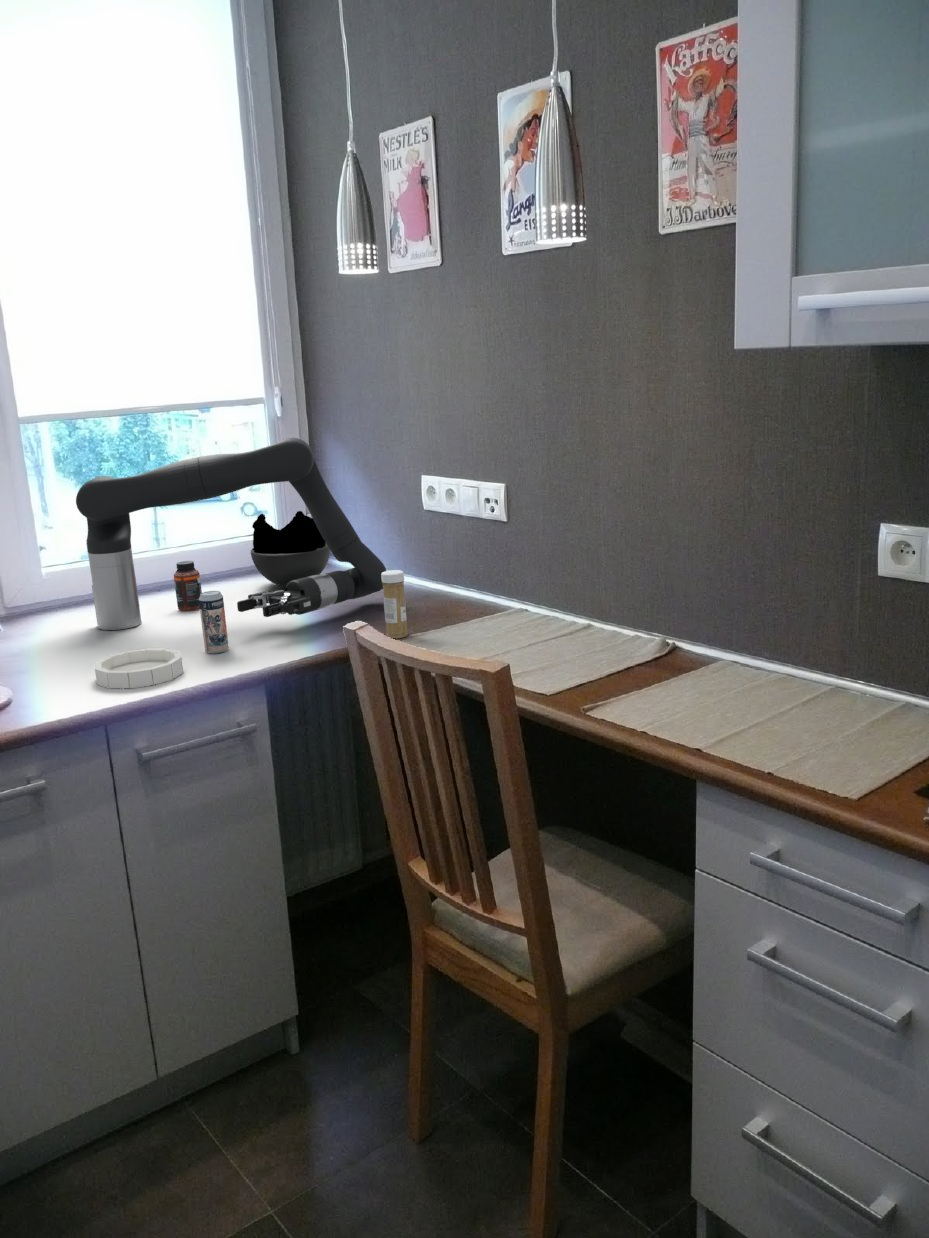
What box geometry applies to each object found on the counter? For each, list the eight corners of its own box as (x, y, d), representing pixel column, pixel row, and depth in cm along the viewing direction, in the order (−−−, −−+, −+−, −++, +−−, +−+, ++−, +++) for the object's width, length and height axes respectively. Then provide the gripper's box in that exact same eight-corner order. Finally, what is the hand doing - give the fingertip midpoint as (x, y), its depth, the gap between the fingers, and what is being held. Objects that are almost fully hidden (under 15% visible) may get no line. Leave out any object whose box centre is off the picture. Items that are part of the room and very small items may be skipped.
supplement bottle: (209, 607, 246) (203, 560, 243) (190, 613, 241) (184, 565, 238) (191, 605, 249) (185, 559, 246) (172, 610, 244) (166, 563, 241)
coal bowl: (349, 580, 267) (343, 507, 262) (300, 597, 250) (292, 520, 246) (288, 575, 277) (282, 505, 272) (237, 592, 260) (229, 517, 256)
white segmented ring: (81, 679, 193) (79, 664, 192) (153, 659, 204) (151, 644, 203) (125, 693, 183) (123, 677, 182) (199, 671, 194) (197, 656, 193)
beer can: (208, 656, 204) (201, 597, 201) (202, 650, 208) (195, 592, 205) (232, 651, 206) (225, 593, 203) (225, 646, 210) (219, 589, 207)
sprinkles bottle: (412, 636, 210) (407, 571, 207) (392, 640, 208) (388, 575, 204) (401, 631, 214) (396, 568, 211) (381, 636, 212) (376, 571, 208)
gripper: (288, 573, 228) (228, 588, 216) (331, 580, 218) (271, 595, 207) (291, 606, 229) (231, 622, 218) (334, 614, 220) (274, 631, 209)
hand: (251, 609), depth 212 cm, fingers open, 8 cm apart
